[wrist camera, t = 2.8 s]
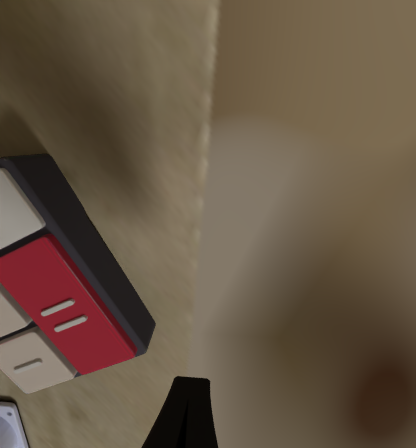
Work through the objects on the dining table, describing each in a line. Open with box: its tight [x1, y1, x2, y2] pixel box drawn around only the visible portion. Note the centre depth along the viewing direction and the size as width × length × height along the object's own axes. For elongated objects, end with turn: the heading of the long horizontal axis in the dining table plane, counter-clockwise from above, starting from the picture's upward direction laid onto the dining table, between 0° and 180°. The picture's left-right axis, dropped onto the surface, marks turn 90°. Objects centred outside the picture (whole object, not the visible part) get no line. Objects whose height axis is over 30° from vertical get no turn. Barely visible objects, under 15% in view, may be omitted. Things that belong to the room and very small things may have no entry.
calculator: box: [0, 154, 156, 394], centre depth 17 cm, size 11×4×15 cm
